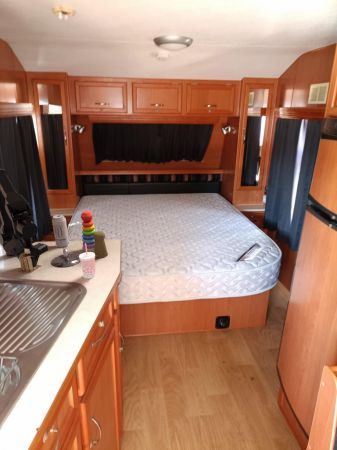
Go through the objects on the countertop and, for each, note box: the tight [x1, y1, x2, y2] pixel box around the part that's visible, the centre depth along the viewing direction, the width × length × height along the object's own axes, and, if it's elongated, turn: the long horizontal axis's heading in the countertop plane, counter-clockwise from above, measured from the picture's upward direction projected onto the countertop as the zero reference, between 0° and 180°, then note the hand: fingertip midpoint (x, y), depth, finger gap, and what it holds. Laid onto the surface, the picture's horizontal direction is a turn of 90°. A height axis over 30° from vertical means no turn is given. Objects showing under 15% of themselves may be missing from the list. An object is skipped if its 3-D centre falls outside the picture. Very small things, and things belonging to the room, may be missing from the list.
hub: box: [50, 248, 81, 269], centre depth 140 cm, size 13×13×6 cm
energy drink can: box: [51, 214, 70, 249], centre depth 154 cm, size 6×6×15 cm
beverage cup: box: [78, 243, 96, 279], centre depth 127 cm, size 6×6×14 cm
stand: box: [16, 264, 42, 275], centre depth 134 cm, size 7×7×4 cm
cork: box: [93, 231, 109, 259], centre depth 144 cm, size 6×6×11 cm
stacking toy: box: [80, 210, 97, 253], centre depth 149 cm, size 8×8×19 cm
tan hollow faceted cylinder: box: [18, 251, 38, 273], centre depth 133 cm, size 6×6×6 cm
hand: (29, 265), depth 134 cm, fingers closed on tan hollow faceted cylinder, 6 cm apart
